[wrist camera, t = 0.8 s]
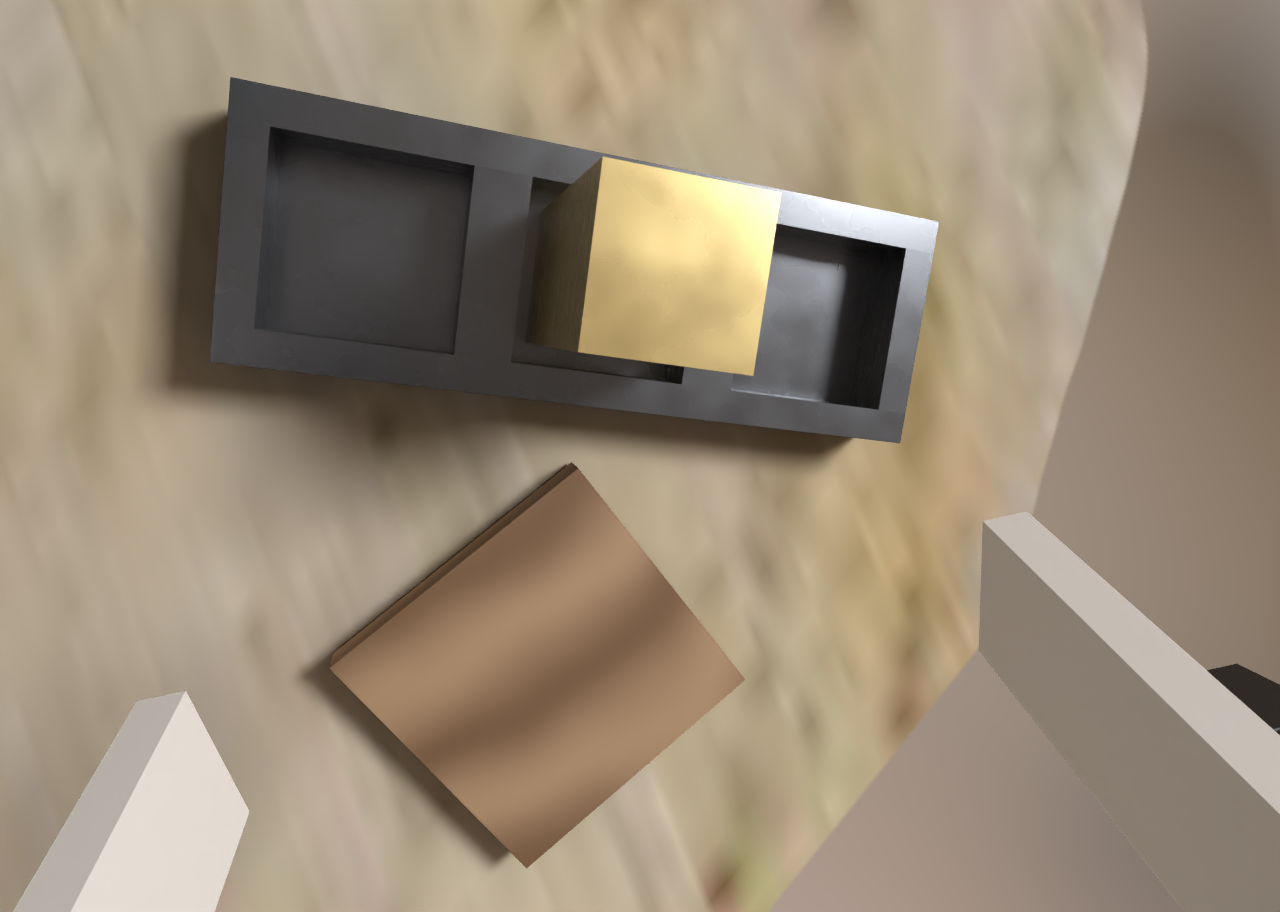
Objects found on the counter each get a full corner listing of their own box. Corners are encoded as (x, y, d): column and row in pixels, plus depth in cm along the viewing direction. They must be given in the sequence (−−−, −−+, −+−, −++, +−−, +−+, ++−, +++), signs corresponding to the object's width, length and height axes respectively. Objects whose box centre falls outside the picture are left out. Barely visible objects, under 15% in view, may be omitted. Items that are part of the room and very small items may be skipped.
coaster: (333, 653, 33) (329, 668, 31) (571, 462, 34) (577, 468, 33) (522, 846, 36) (526, 868, 35) (732, 666, 37) (745, 679, 36)
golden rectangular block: (525, 342, 32) (577, 351, 22) (541, 211, 32) (602, 156, 21) (648, 359, 34) (752, 376, 23) (665, 233, 33) (781, 192, 23)
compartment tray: (229, 358, 30) (209, 361, 27) (248, 101, 29) (230, 77, 26) (862, 433, 37) (899, 443, 34) (897, 229, 36) (938, 221, 33)
